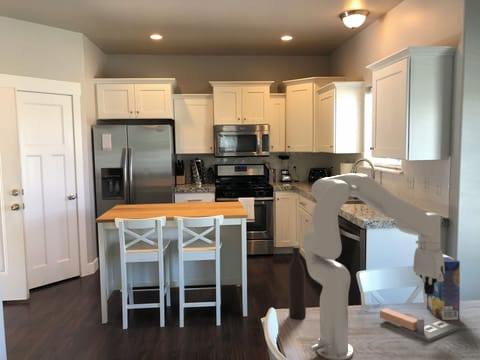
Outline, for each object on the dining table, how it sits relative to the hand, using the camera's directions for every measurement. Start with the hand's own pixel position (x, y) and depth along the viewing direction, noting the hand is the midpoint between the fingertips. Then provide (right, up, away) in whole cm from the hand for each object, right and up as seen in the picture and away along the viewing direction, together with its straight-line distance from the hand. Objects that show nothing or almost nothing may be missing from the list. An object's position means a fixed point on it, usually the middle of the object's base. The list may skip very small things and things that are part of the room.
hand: (429, 293), depth 141 cm
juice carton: (+14, -14, +17) cm, 26 cm away
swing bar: (-9, -13, +6) cm, 17 cm away
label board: (+2, -15, +3) cm, 15 cm away
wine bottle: (-47, -16, +19) cm, 53 cm away
